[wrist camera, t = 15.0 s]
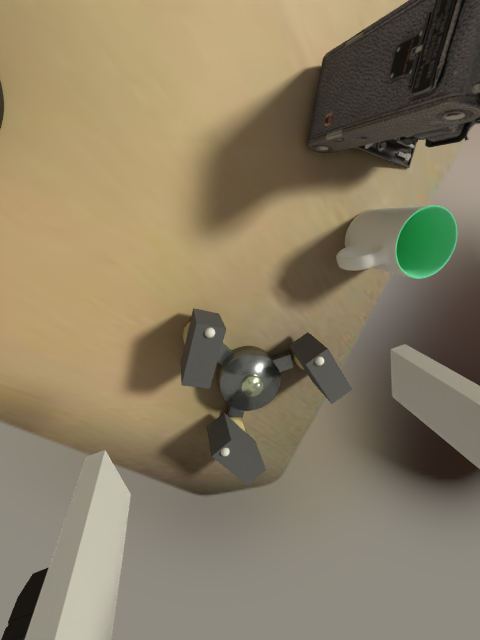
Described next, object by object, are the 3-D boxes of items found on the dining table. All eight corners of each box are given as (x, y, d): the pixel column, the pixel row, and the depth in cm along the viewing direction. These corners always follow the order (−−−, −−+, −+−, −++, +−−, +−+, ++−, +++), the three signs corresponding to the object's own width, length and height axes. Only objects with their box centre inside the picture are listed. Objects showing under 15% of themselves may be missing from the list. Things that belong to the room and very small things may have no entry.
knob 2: (305, 377, 48) (331, 408, 40) (281, 342, 45) (304, 368, 37) (326, 361, 48) (357, 389, 40) (304, 326, 45) (332, 348, 37)
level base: (191, 407, 45) (193, 427, 41) (209, 337, 42) (214, 351, 38) (272, 416, 49) (282, 435, 45) (294, 352, 46) (307, 366, 42)
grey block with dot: (177, 355, 42) (177, 387, 34) (189, 303, 40) (192, 324, 32) (206, 360, 43) (214, 391, 35) (219, 310, 41) (230, 331, 33)
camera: (381, 180, 44) (564, 163, 27) (293, 146, 36) (478, 91, 19) (404, 97, 41) (626, 21, 24) (315, 38, 33) (556, -137, 16)
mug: (329, 286, 44) (373, 304, 34) (313, 235, 41) (356, 240, 31) (398, 251, 44) (461, 260, 35) (387, 199, 41) (452, 192, 32)
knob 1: (234, 447, 49) (246, 490, 41) (203, 420, 46) (209, 462, 38) (254, 430, 49) (269, 471, 41) (224, 403, 46) (234, 441, 38)
